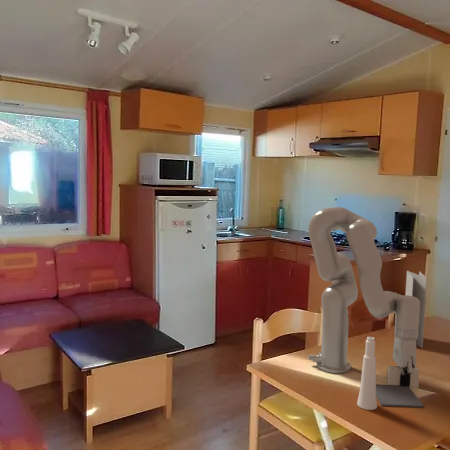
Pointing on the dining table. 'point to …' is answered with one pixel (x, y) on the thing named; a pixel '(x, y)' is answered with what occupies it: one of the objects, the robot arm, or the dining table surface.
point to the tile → (394, 376)
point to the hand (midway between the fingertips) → (403, 383)
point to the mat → (397, 396)
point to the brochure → (417, 288)
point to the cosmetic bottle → (368, 378)
